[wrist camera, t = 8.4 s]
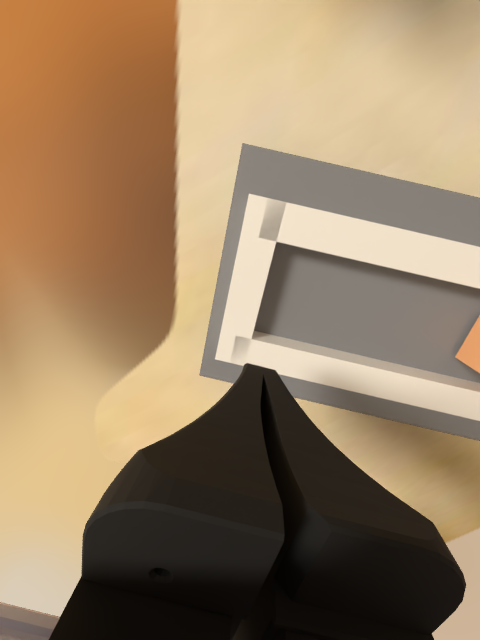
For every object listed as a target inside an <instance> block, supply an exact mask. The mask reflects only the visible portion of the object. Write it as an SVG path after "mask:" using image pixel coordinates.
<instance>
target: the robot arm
mask: <svg viewBox="0 0 480 640" xmlns="http://www.w3.org/2000/svg"><path fill="white" fill-rule="evenodd" d="M465 588H466V583H465V579H464V575H463V573H462V571H461V570H460V567H459V566H458V564H457V562H456V561H455V559H454V557H453V556H452V554H451V552H450V551H449V549H448V547H447V545H446V544H445V542H444V540H443V539H442V537H441V535H440V534H439V532H438V530H437V529H436V527H435V525H434V524H433V522H431V521H430V520H428V519H427V518H426V517H424V516H423V515H421V514H420V513H419V512H417V511H416V510H414V509H413V508H411V507H410V506H409V505H407V504H406V503H404V502H403V501H401V500H400V499H399V498H397V497H396V496H394V495H393V494H391V493H390V492H389V491H387V490H386V489H385V488H384V487H382V486H381V485H380V484H379V483H377V482H376V481H375V480H373V479H372V478H371V477H370V476H368V475H367V474H366V473H365V472H363V471H362V470H361V469H360V468H359V467H358V466H356V465H355V464H354V463H353V462H352V461H351V460H350V459H348V458H347V457H346V456H345V455H344V454H343V453H342V452H341V451H340V450H339V449H338V448H336V447H335V446H334V445H333V444H332V443H331V442H330V441H329V440H328V439H327V438H326V436H325V435H324V434H323V433H322V432H321V431H320V430H319V429H318V428H317V427H316V426H315V425H314V423H313V422H312V421H311V420H310V419H309V417H308V416H307V415H306V414H305V412H304V411H303V410H302V409H301V407H300V406H299V405H298V403H297V402H296V400H295V399H294V398H293V396H292V395H291V393H290V392H289V390H288V389H287V387H286V386H285V384H284V383H283V381H282V379H281V378H280V376H279V375H278V373H277V372H276V370H273V369H269V368H265V367H261V366H258V365H254V364H250V363H246V364H244V366H243V370H242V372H241V374H240V376H239V378H238V379H237V380H236V382H235V383H234V384H233V386H232V387H231V388H230V389H229V390H228V392H227V393H226V394H225V395H224V396H223V397H222V398H221V399H220V400H219V401H218V402H217V403H216V404H215V405H214V406H213V407H212V408H210V409H209V410H208V411H207V412H205V413H204V414H203V415H202V416H200V417H199V418H198V419H196V420H195V421H193V422H192V423H190V424H189V425H187V426H185V427H184V428H182V429H180V430H179V431H177V432H175V433H174V434H172V435H170V436H168V437H166V438H164V439H162V440H160V441H158V442H156V443H154V444H152V445H149V446H147V447H145V448H143V449H141V450H139V451H138V452H137V453H136V454H135V455H134V456H133V457H132V458H131V459H130V461H129V462H128V463H127V464H126V465H125V466H124V468H123V469H122V470H121V471H120V473H119V474H118V475H117V476H116V478H115V479H114V481H113V482H112V483H111V484H110V486H109V487H108V489H107V490H106V492H105V493H104V495H103V496H102V498H101V500H100V501H99V503H98V505H97V506H96V508H95V510H94V511H93V513H92V515H91V516H90V518H89V520H88V521H87V523H86V526H85V529H84V533H83V547H82V576H81V579H80V580H79V582H78V584H77V586H76V588H75V590H74V592H73V594H72V596H71V598H70V599H69V601H68V603H67V605H66V607H65V609H64V611H63V613H62V615H61V617H58V616H54V615H50V614H46V613H41V612H38V611H34V610H30V609H25V608H22V607H17V606H13V605H10V604H5V603H1V602H0V640H434V638H433V636H432V632H434V631H435V630H436V629H437V628H438V627H439V626H440V625H441V624H442V623H443V622H444V621H445V620H446V619H447V618H448V617H449V616H450V615H451V614H452V613H453V612H454V611H455V610H456V609H457V608H458V606H459V605H460V603H461V602H462V600H463V597H464V592H465Z"/></svg>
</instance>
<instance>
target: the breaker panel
mask: <svg viewBox="0 0 480 640" xmlns="http://www.w3.org/2000/svg"><path fill="white" fill-rule="evenodd" d="M479 315H480V198H478V197H474V196H470V195H465V194H461V193H457V192H452V191H448V190H444V189H439V188H435V187H431V186H426V185H422V184H418V183H413V182H409V181H405V180H400V179H396V178H392V177H387V176H383V175H379V174H374V173H370V172H366V171H361V170H357V169H353V168H348V167H344V166H339V165H335V164H331V163H326V162H322V161H318V160H313V159H309V158H305V157H300V156H296V155H292V154H287V153H283V152H279V151H274V150H270V149H266V148H261V147H257V146H253V145H248V144H244V143H243V144H242V149H241V155H240V160H239V165H238V171H237V176H236V182H235V187H234V192H233V198H232V203H231V208H230V214H229V219H228V225H227V230H226V235H225V241H224V246H223V251H222V257H221V262H220V268H219V273H218V278H217V284H216V289H215V294H214V300H213V305H212V311H211V316H210V321H209V327H208V332H207V337H206V343H205V348H204V354H203V359H202V364H201V370H200V376H204V377H208V378H213V379H217V380H221V381H226V382H230V383H235V382H236V380H237V379H238V378H239V376H240V374H241V372H242V370H243V366H244V364H246V363H250V364H254V365H258V366H261V367H265V368H269V369H273V370H276V372H277V373H278V375H279V376H280V378H281V379H282V381H283V383H284V384H285V386H286V387H287V389H288V390H289V392H290V393H291V395H292V396H293V397H294V398H299V399H303V400H307V401H311V402H316V403H320V404H324V405H329V406H333V407H337V408H341V409H346V410H350V411H354V412H359V413H363V414H367V415H371V416H376V417H380V418H384V419H389V420H393V421H397V422H401V423H406V424H410V425H414V426H419V427H423V428H427V429H431V430H436V431H440V432H444V433H449V434H453V435H457V436H461V437H466V438H470V439H474V440H479V441H480V373H479V372H477V371H475V370H474V369H472V368H471V367H469V366H468V365H466V364H465V363H463V362H462V361H460V360H459V359H457V358H455V356H456V355H457V353H458V351H459V350H460V348H461V346H462V344H463V343H464V341H465V339H466V338H467V336H468V334H469V332H470V331H471V329H472V327H473V326H474V324H475V322H476V321H477V319H478V317H479Z"/></svg>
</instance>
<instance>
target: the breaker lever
mask: <svg viewBox="0 0 480 640" xmlns="http://www.w3.org/2000/svg"><path fill="white" fill-rule="evenodd" d="M455 358H457V359H459V360H460V361H462V362H463V363H465V364H466V365H468V366H469V367H471V368H472V369H474V370H475V371H477V372H479V373H480V315H479V317H478V319H477V321H476V322H475V324H474V326H473V327H472V329H471V331H470V332H469V334H468V336H467V338H466V339H465V341H464V343H463V344H462V346H461V348H460V350H459V351H458V353H457V355H456V356H455Z"/></svg>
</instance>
